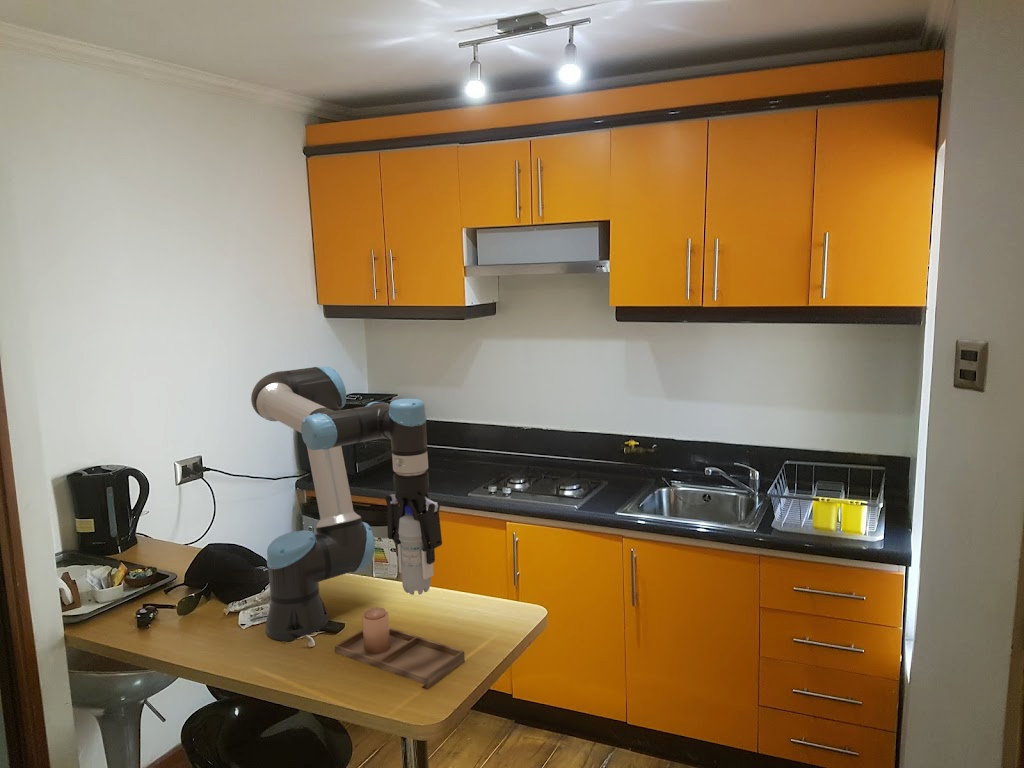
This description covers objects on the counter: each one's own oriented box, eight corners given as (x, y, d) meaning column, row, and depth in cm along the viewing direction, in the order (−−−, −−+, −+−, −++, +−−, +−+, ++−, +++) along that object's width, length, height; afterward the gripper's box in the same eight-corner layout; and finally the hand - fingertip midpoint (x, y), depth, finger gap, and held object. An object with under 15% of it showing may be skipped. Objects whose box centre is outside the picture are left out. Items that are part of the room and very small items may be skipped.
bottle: (396, 595, 165) (390, 506, 162) (410, 582, 171) (406, 497, 168) (423, 599, 162) (418, 509, 159) (437, 586, 168) (433, 499, 165)
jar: (358, 649, 176) (356, 614, 174) (376, 638, 181) (374, 604, 179) (377, 656, 172) (375, 620, 171) (395, 645, 177) (393, 609, 176)
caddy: (335, 656, 175) (334, 646, 175) (375, 632, 186) (374, 623, 186) (426, 689, 160) (426, 678, 160) (464, 661, 171) (464, 651, 171)
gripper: (365, 470, 165) (372, 571, 168) (434, 481, 154) (439, 589, 158) (389, 462, 171) (395, 559, 174) (456, 472, 160) (461, 576, 164)
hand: (416, 573), depth 166 cm, fingers closed on bottle, 6 cm apart
